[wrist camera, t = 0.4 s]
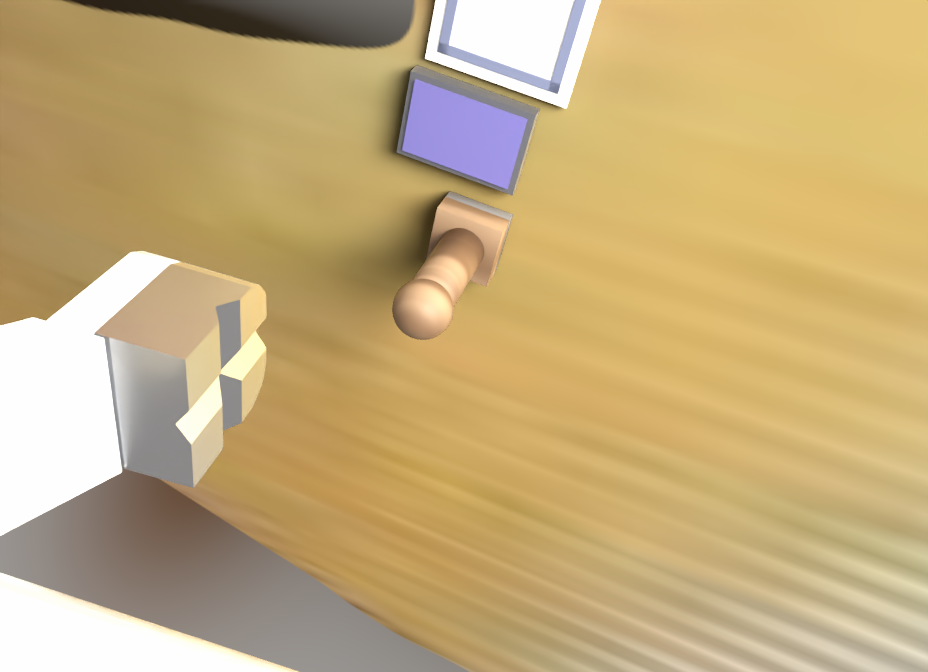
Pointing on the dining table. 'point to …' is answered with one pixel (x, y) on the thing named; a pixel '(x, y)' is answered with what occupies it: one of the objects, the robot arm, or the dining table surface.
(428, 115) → the ink pad
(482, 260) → the stamp
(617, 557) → the dining table surface
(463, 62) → the print sheet
